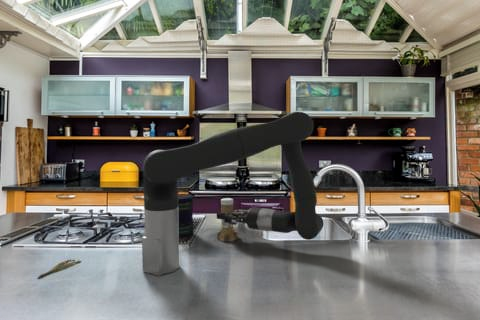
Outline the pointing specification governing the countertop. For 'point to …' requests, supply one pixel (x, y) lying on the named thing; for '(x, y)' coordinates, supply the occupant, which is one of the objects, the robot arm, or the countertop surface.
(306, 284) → the countertop surface
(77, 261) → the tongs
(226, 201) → the sprinkles bottle
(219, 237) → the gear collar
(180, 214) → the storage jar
